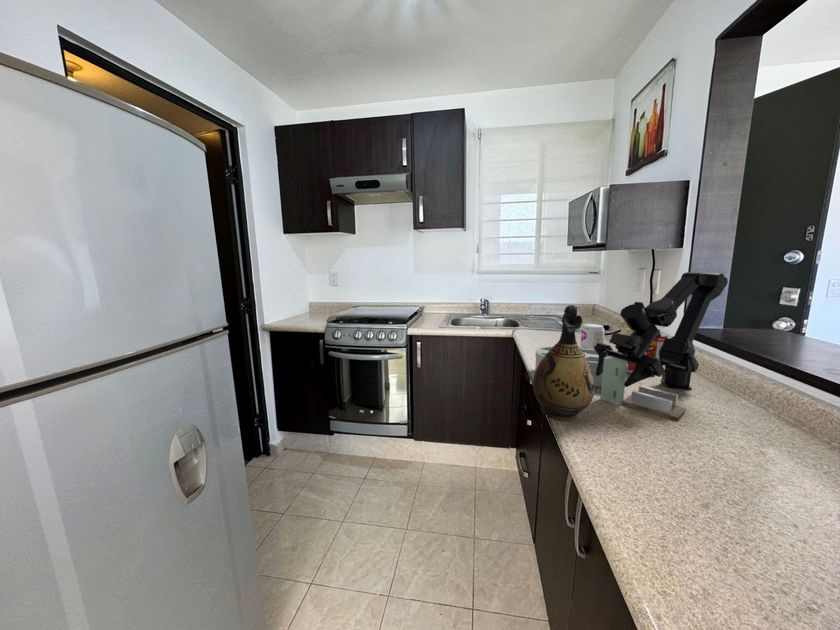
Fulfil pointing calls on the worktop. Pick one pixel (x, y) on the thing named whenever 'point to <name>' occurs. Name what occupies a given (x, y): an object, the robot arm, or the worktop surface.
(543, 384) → the ceramic jug
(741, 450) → the worktop surface
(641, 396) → the slotted panel holder
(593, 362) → the gray compartment organizer
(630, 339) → the robot arm
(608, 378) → the door panel
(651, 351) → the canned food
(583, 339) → the supplement can
